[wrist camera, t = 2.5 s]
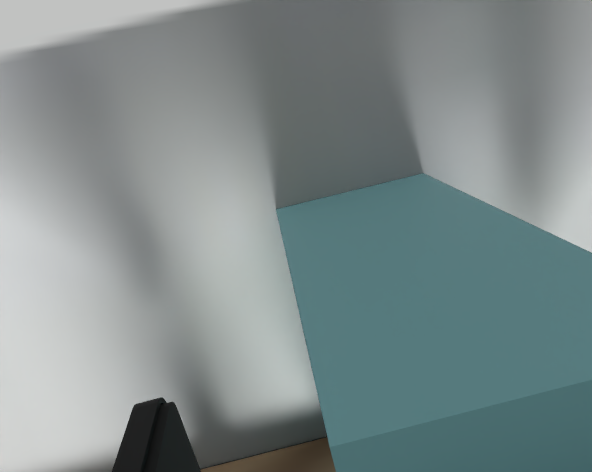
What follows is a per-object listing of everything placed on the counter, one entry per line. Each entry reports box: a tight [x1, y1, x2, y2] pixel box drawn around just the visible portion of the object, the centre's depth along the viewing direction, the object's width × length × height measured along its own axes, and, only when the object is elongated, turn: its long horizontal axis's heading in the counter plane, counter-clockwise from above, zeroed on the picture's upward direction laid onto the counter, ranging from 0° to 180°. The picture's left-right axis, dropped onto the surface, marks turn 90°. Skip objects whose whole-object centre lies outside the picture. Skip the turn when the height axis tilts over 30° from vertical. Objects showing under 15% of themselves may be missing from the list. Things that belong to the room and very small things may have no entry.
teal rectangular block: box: [276, 173, 592, 472], centre depth 9 cm, size 4×8×8 cm, turn 13°
